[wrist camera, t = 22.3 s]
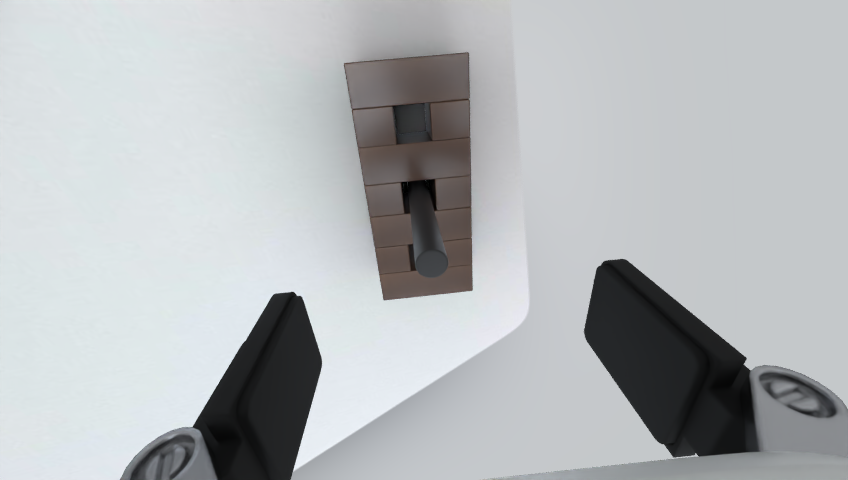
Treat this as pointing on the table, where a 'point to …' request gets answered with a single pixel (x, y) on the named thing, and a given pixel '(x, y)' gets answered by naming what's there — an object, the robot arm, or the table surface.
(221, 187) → the table surface
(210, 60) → the table surface
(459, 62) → the pen stand
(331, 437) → the table surface
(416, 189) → the stylus
